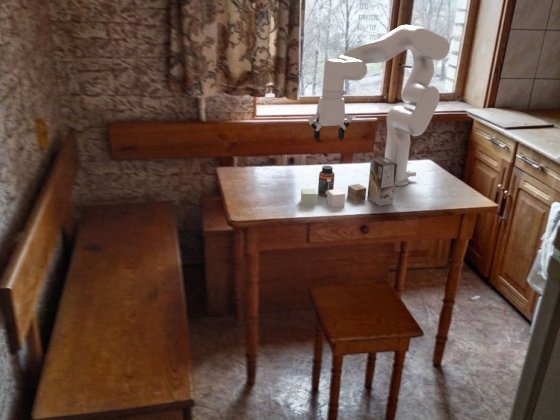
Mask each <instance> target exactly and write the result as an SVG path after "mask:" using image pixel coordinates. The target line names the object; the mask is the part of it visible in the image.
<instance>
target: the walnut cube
mask: <svg viewBox="0 0 560 420" xmlns="http://www.w3.org/2000/svg"><path fill="white" fill-rule="evenodd" d="M367 190H368V187H365V186H364V185H362V184H360V183H356V184H351V185H350V184H349V185H347V194H346V195H347V197H346V198H347V199H348V200H351V201H352V202H354V203H357V201H358V202H362V200H363V201H366V197H367V196H366V195H367Z"/></svg>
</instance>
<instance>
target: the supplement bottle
mask: <svg viewBox="0 0 560 420" xmlns="http://www.w3.org/2000/svg"><path fill="white" fill-rule="evenodd" d="M317 184H318V186H317V194H318V195H319V196H320V197H326V198H327V194H328V190H334V186H335V172H334V171H333V166H332V165H323V166H322V167H321V171H320V172H319V173H318V183H317Z"/></svg>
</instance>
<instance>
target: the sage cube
mask: <svg viewBox="0 0 560 420" xmlns="http://www.w3.org/2000/svg"><path fill="white" fill-rule="evenodd" d="M316 199H317V193H316V189H315V188H301V191H300V204H301V206H302V207H316V206H317V205H316V203H317V202H316Z"/></svg>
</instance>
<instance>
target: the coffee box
mask: <svg viewBox="0 0 560 420" xmlns="http://www.w3.org/2000/svg"><path fill="white" fill-rule="evenodd" d="M369 165H370V167H369V176H368V177H369V178H368V187H367V194H366V195H367V196H366V197H367V199H369V200H370V201H372V202H373V203H374V204H375V205H377V206H379V207H380V206H381V207H382V206H386V205H392V204H393V201H394V193H395V187H396V186H395V178H396V169H397V164H396V163H394V162H392V161H391V160H389V159H387V158H385V156H382V157H373V158H371V159H370V164H369Z"/></svg>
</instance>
